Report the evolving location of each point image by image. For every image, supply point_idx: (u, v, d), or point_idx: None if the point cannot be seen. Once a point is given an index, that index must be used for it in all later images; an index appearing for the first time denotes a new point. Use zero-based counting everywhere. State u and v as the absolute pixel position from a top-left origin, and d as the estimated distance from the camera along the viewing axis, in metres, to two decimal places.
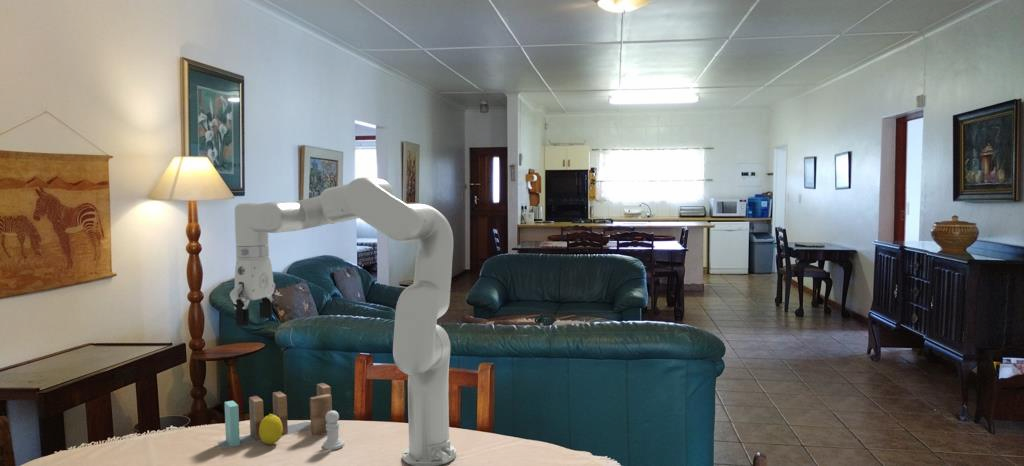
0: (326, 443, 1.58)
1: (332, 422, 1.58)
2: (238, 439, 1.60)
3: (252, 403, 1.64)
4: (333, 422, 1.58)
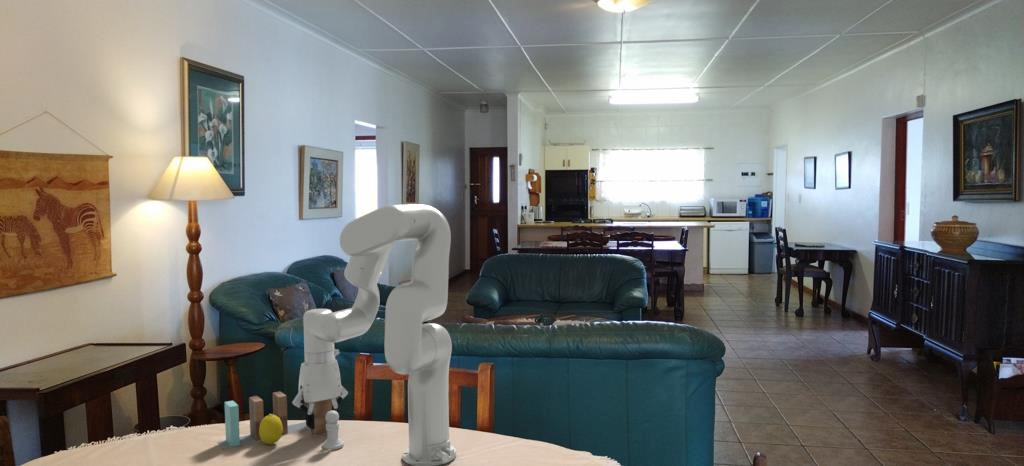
0: (326, 443, 1.58)
1: (332, 422, 1.58)
2: (238, 439, 1.60)
3: (252, 403, 1.64)
4: (333, 422, 1.58)
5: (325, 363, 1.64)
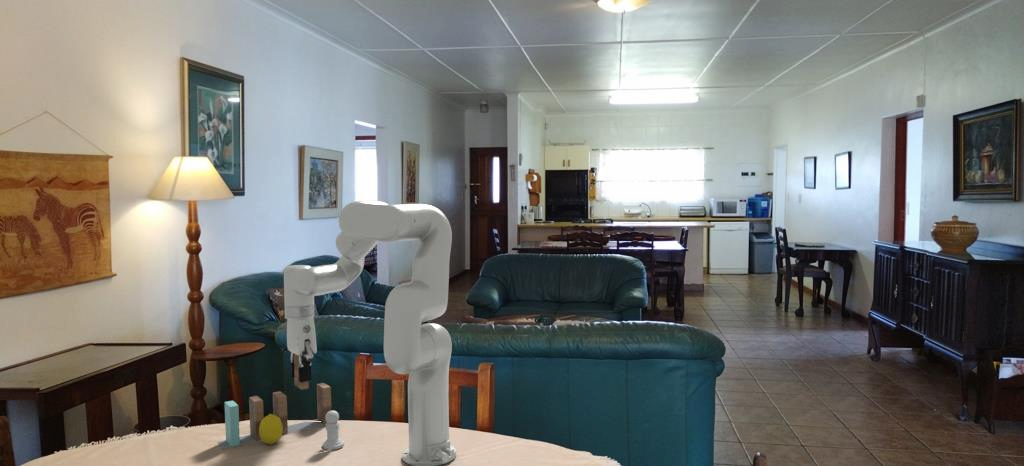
0: (326, 443, 1.58)
1: (332, 422, 1.58)
2: (238, 439, 1.60)
3: (252, 403, 1.64)
4: (333, 422, 1.58)
5: (285, 317, 1.69)
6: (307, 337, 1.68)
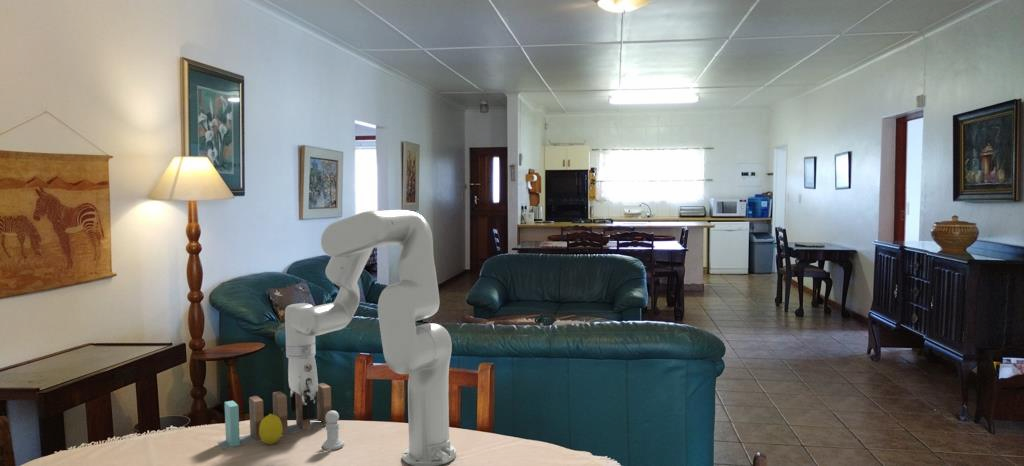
0: (326, 443, 1.58)
1: (332, 422, 1.58)
2: (238, 439, 1.60)
3: (252, 403, 1.64)
4: (333, 422, 1.58)
5: (287, 356, 1.69)
6: (308, 376, 1.68)
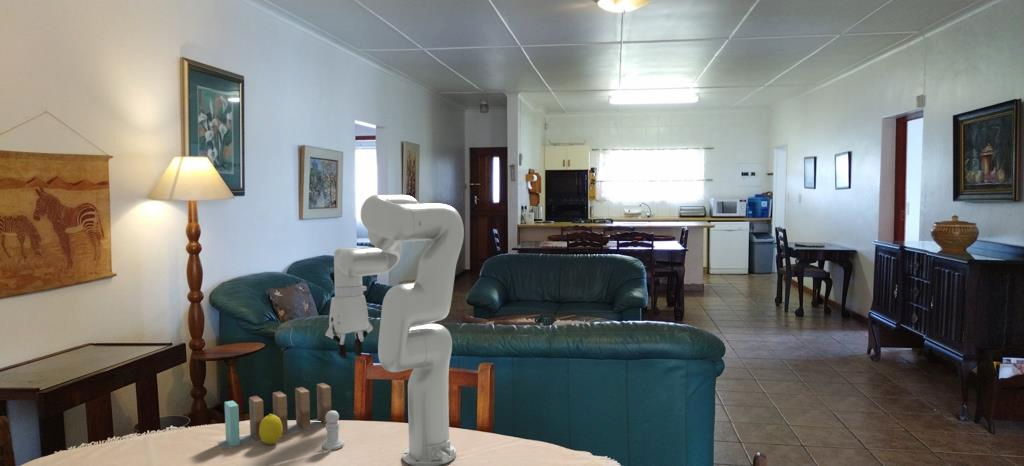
0: (326, 443, 1.58)
1: (332, 422, 1.58)
2: (238, 439, 1.60)
3: (252, 403, 1.64)
4: (333, 422, 1.58)
5: (354, 296, 1.77)
6: None
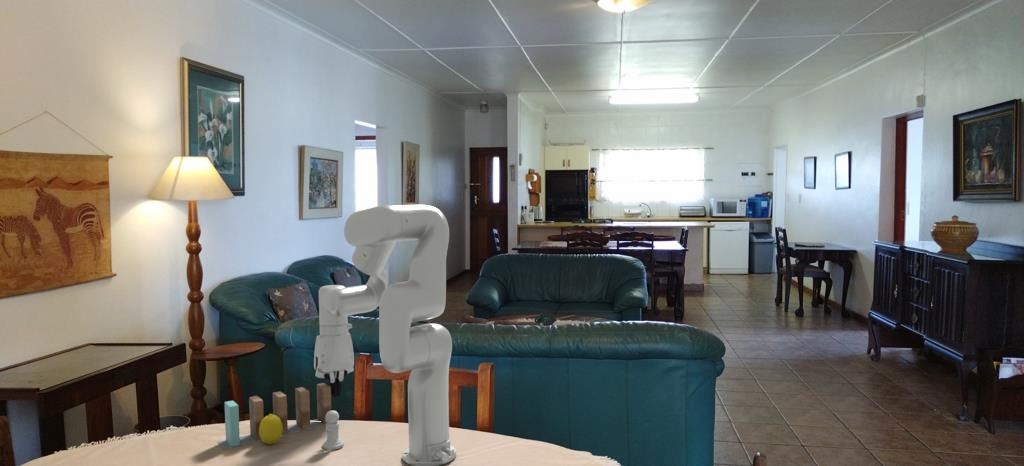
0: (326, 443, 1.58)
1: (332, 422, 1.58)
2: (238, 439, 1.60)
3: (252, 403, 1.64)
4: (333, 422, 1.58)
5: (339, 335, 1.74)
6: None
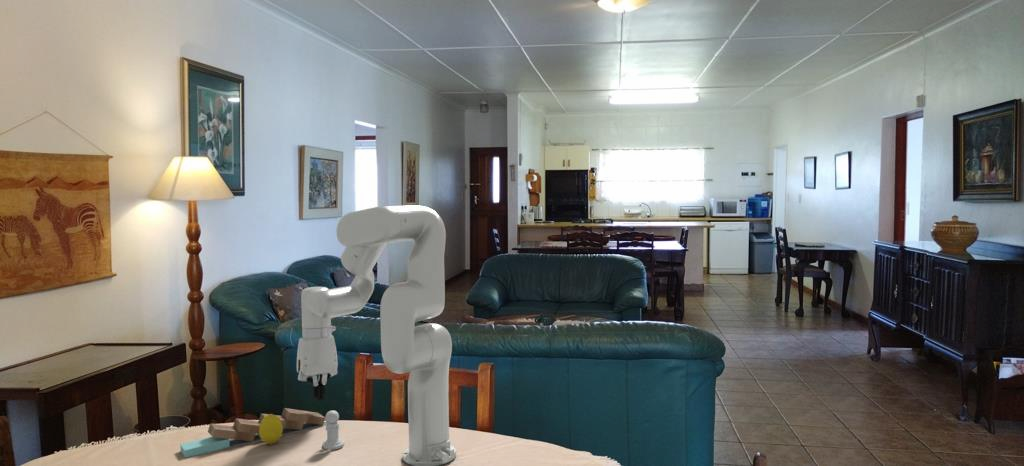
0: (326, 443, 1.58)
1: (332, 422, 1.58)
2: (223, 441, 1.58)
3: None
4: (333, 422, 1.58)
5: (322, 338, 1.71)
6: None
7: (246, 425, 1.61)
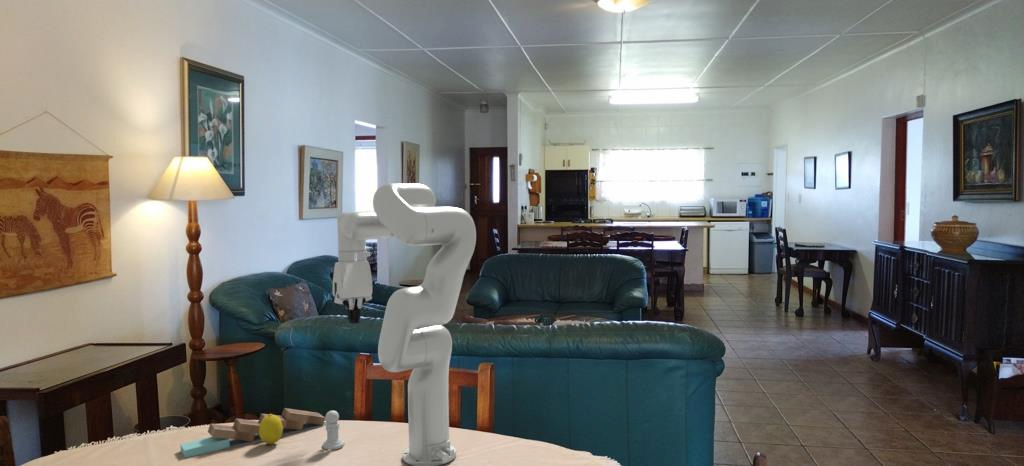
0: (326, 443, 1.58)
1: (332, 422, 1.58)
2: (223, 441, 1.58)
3: None
4: (333, 422, 1.58)
5: (358, 261, 1.74)
6: None
7: (246, 425, 1.61)
